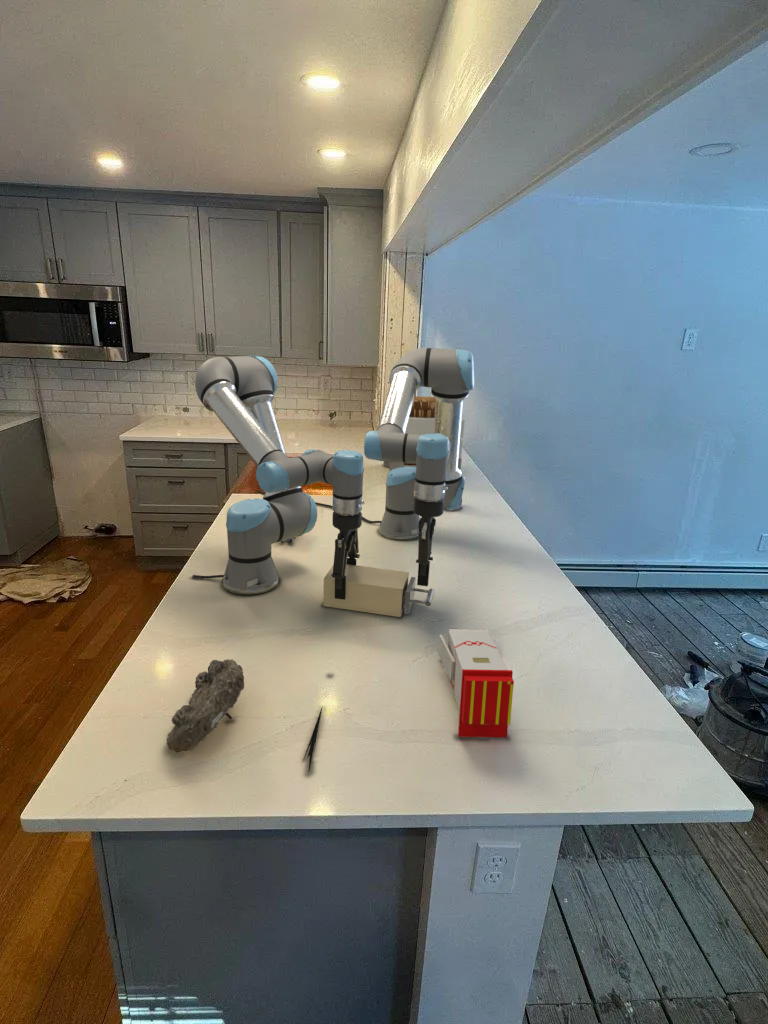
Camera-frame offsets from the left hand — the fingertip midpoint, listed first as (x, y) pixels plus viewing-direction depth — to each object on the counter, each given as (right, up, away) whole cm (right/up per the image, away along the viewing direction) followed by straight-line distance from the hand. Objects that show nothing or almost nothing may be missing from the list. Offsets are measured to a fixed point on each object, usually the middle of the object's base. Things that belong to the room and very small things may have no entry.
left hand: (345, 589), depth 152 cm
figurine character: (-22, +12, +40) cm, 47 cm away
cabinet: (+5, -4, 0) cm, 7 cm away
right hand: (+20, +2, -5) cm, 21 cm away
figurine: (+38, +22, +76) cm, 88 cm away
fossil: (-22, -18, -44) cm, 53 cm away
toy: (+28, -17, -34) cm, 47 cm away
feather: (-2, -19, -44) cm, 48 cm away
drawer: (+11, -3, -1) cm, 11 cm away
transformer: (+28, +40, +122) cm, 132 cm away
